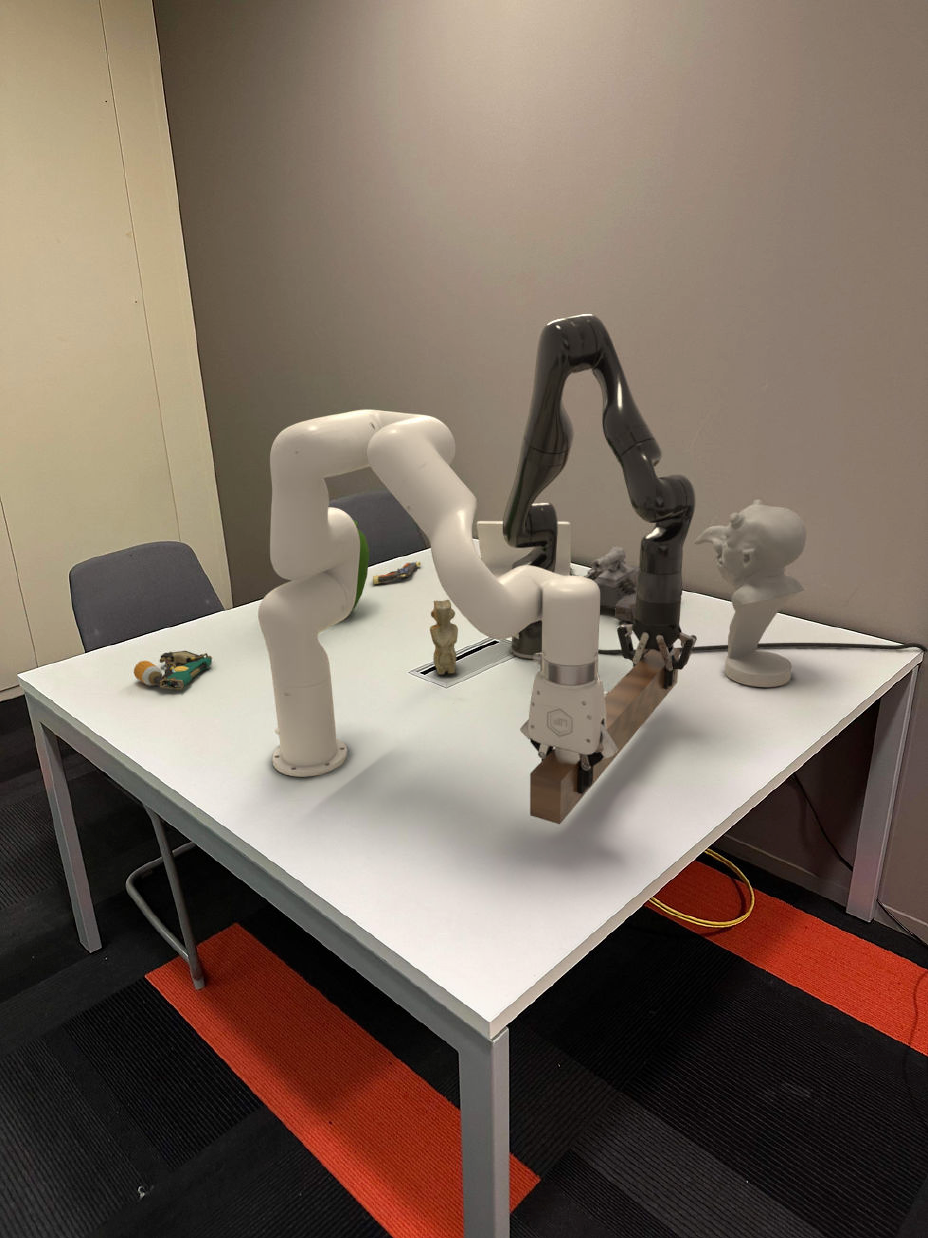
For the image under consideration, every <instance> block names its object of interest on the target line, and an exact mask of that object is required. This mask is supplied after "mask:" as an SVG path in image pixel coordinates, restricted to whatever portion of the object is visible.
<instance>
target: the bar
mask: <svg viewBox="0 0 928 1238" xmlns="http://www.w3.org/2000/svg"><path fill="white" fill-rule="evenodd" d="M674 648H675V656H676V660H679V657H680V652H679V650H680V649H677V648H678V647H674ZM665 670H666V666H665V662H664V659H663V658H662V655H661V652H659V651H656V650H654V649H652V650H650V651H649V652H648V653H646V654H645V655H644V657H643V658H642V659H641V660H640V661H639V662H638V663H637V664H636V665H635V666H634V667H633V666H632V668H631V669H630V670H629V671H628V672H627V673H626V674H624V676H623V677H622V678H621V679H620V680H619V681H618V682H617V683H616V684H615V686H614V687H612V689H611V690H609V691H608V693H607V694H605V705H606V730H607V732H608V733H609V735H610V736H611V738H612V740H613V741H614V743H615V744H616V746H617V748H618V751H617V752H616V753H615V755H613V756H611V757H609V758H606V759H603V760H601V761H600V762H599V763H597V764H596V765H594V766H593V783H592V785H591V787H593V786H594V784H595V783H596V782H597V780H599V778H600V777H601V775H602V774H603V773H604V772H606V770H607V768H608V767H610V765H611V764H612V762H613V761H614V760H615V759H616V757H617V756H618V755H619V754H620V753H621V752H622V750H623V749H624V748H625V747H626V745H627V744H628V743H629V742H630V740H631V739H632V738H634V735H636V733H637V732H638V731H639V730H640V728H641V727H642V726H643V725H644V724H645V722H646V721H647V720H648V719H649V717H651V715H652V714H653V713H654V712H655V710H657V708H658V707H659V705H660V704H661V703H662V702H663V701H664V699H666V697H667V696H668V694H669V693H670V692H671V691H672V690H673V689H674V687H675V686H676V685H677V684H678V679H679V678H678V677H679V669H676V671H675V682H674V684H673V685H672V687H670V688H669V689H668V690H667V689H664V675H665ZM599 749H603V747H602V745H601V743H600V742H599V744H598V748H597V749H596V751H598V750H599ZM580 767H581V761H580V757H579V753H576V752H572V751H568V750H564V749H560V748H556V747H554V749H553V750H552V751H551V752H550V753H549V754H548V755H547V757H546V758H545V759H544V760H543V761H542V762H541V761H540V762H539V763H538V764H537V765H536V767H534V769H533V770H531V771H530V774H529V788H530V789H529V816H530V817H533V818H536V819H541V820H543V821H546V822H550V823H553V824H556V825H561V824H562V823H563V822H564V821H565V819H566V818H567V817H568V816H569V814H570V813H571V812H572V811H573V810H574V809H575V807H576V806H577V805H578V804H579V802H580V801H581V800H582V799H583V797H584V796H585V795H586V793H588V792H589V790H590V789H591V787H590V788H589V787H588V788H587V789H586V790H585V792H584V793H583V794H578V792H577V780H578V769H579V768H580Z"/></svg>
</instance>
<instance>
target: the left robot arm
mask: <svg viewBox="0 0 928 1238" xmlns="http://www.w3.org/2000/svg"><path fill="white" fill-rule="evenodd" d="M455 455H456V441H455V438H454V435H453V434H452V432H451V430H450V428H449V427H448V426H447V425H446V424H445V423H444V422H443V421H441V420H440V419H438V418H437V417H434V416H431V415H426V414H419V413H418V414H417V413H407V412H397V411H387V410H379V409H357V410H352V411H351V410H350V411H347V412H341V413H336V414H330V415H325V416H320V417H315V418H311V419H307V420H304V421H303V420H302V421H300V422H297V423H294V424H291V425H289V426H287V427H286V428H284V429H283V430H281V431H280V432H279V433H278V434H277V436H276V437H275V438H274V440H273V443H272V445H271V449H270V454H269V463H270V464H269V468H270V469H269V470H270V478H271V506H270V533H269V534H270V537H269V557H270V564H271V566H272V569H273V570H274V572H275V574H277V575H278V576H279V577H280V578H282V579H284V580H287V581H288V582H285V583H283V584H281V585H279V586H276V587H274V589H272V590H270V591H269V592H268V593H267V594H266V595H265V596H263V598H262V600H261V601H260V604H259V607H258V612H257V619H258V622H259V626H260V629H261V632H262V635H263V638H264V641H265V645H266V648H267V652H268V658H269V664H270V673H271V680H272V687H273V697H274V703H275V704H274V706H275V712H276V721H277V727H276V728H275V730H274V732H275V734H276V735H277V736H278V739H279V746H278V747H277V748H276V749H275V750H274V751H273V753H272V758H271V759H272V764H273V767H274V768H275V770H276V771H278V772H280V773H281V774H284V775H287V776H291V777H297V778H298V777H299V778H303V777H304V778H305V777H306V778H307V777H315V776H320V775H323V774H327V773H330V772H332V771H334V770H336V769H337V768H339V767H340V766H342V764H343V763H344V762H346V759H347V757H348V751H347V750H348V749H347V746H346V744H345V743H344V742H343V741H341V740H340V739H339V738H337V728H336V717H335V709H334V708H335V707H334V706H335V705H334V696H333V695H334V694H333V684H332V675H331V664H330V660H329V656H328V653H327V651H326V650H325V648H324V647H323V645H322V644H321V643H320V641H319V638H318V637H319V634H320V633H322V632H324V631H325V630H327V629H329V628H330V627H332V626H335V625H336V624H338V623H340V622H342V621H344V619H347V617H348V616H349V615H350V614H351V613H352V612H353V611H352V609H353V607H354V603H355V599H356V591H357V580H358V568H359V556H360V538H359V533H358V530H357V527H356V525H355V523H354V521H353V520H354V519H353V518H352V517H351V516H350V515H349V514H348V513H347V512H345V511H344V510H342V509H340V508H337V507H332V506H331V507H329V506H330V505H329V504H330V495H329V490H328V486H327V483H326V481H325V479H326V478H331V477H336V476H340V475H345V474H348V473H353V472H356V471H359V470H362V469H365V468H369V467H370V468H371V470H372V471H373V473H374V474H375V475H376V477H377V478H378V479H379V480H380V482H381V483H382V484H383V485H384V486H385V487H386V488H387V490H388V491H389V492H390V494H392V496H393V497H394V498H395V499H396V500H397V502H398V503H399V505H401V506H402V508H403V509H404V510H405V512H406V513H407V514H408V515H409V516H410V517H411V519H412V520H413V521H414V523H416V524H417V526H418V527H419V528H420V529H421V531H422V533H424V534H425V535H426V537H427V539H428V540H429V541H428V542H429V544H430V552H431V553H430V554H431V557H432V561H433V565H434V568H435V572H436V575H437V578H438V580H439V583H440V586H441V588H442V589H443V591H444V592H445V594H446V596H447V597H448V599H449V600H450V602H451V603H453V605H454V606H455V607H456V609H457V610H458V611H459V612H460V613H461V615H462V616H463V617H464V618H465V619H466V621H468V623H469V624H470V625H472V626H473V627H474V628H475V629H476V631H478V632H480V634H483V635H485V636H486V637H488V638H490V639H493V640H507V639H510V638H512V636H514V635H516V634H517V633H519V632H520V631H521V630H523V629H524V628H525V627H527V626H528V625H529V624H531V623H533V622H536V621H539V620H541V621H542V653H535V654H534V656H533V659H532V661H533V662H534V663H537V664H539V665H540V666H539V667H540V670H539V671H537V672H536V673H535V677H534V680H533V685H532V690H531V695H530V702H529V711H528V712H529V713H528V719H527V720H526V721H525V722H524V723H523V724H522V726H521V727H520V728H519V730H520V733H522V734H523V735H524V737H526V738H527V739H528V740H529V741H530V744H531V745H532V746H533V747H534V748H535V750H536V751H537V755H538V757H539V759H541V761H540V763H541V762H542V761H543V760H544V759H545V758H546V757H547V755H548V754H549V753H550V752H551V751H552V750H553V749H554V748H555V747H556V748H560V749H564V750H568V751H572V752H576V753H579V757H580V761H581V767H580V768H579V769H578V780H577V792H578V794H583V793H584V792H585V790H586V789H587V788H588V787H589V788H590V787H592V786H593V785H592V783H593V766H594V765H596V764H597V763H599V762H600V761H601V760H603V759H606V758H609V757H611V756H613V755H615V753H616V752H617V751H618V748H617V746H616V744H615V743H614V741H613V740H612V738H611V736H610V735H609V733H608V732H607V730H606V705H605V696H606V694H605V689H604V684H603V681H602V677H601V676H598V670H599V669H598V668H599V653H598V649H599V644H600V613H601V611H600V610H601V606H600V589H599V587H598V585H597V584H596V583H595V582H594V581H593V580H591V579H588V578H585V577H584V576H580V575H570V576H563V575H559V574H556V573H553V572H550V571H548V570H545V569H542V568H539V567H535V566H530V565H524V566H519V567H516V568H514V569H513V570H511V571H509V572H508V573H506V574H504V575H502V576H501V577H499V578H496V577H495V576H494V575H493V574H492V573H491V571H490V570H489V569H488V568H487V567H486V565H485V564H484V562H483V561H482V560H481V555H480V554H479V553H478V551H477V548H476V546H475V542H474V539H473V538H474V537H473V522H474V519H475V515H476V512H477V509H478V508H477V507H478V501H477V498H476V496H475V494H474V493H473V492H472V491H471V490H470V489H469V487H467V485H465V483H464V482H463V481H462V479H460V477H459V476H458V474H457V473H456V472H455V471H454V470H453V468H451V467H450V465H451V464H452V462H453V461H454V458H455ZM351 518H352V519H353V520H352V519H351ZM353 610H354V609H353ZM351 611H352V612H351ZM350 612H351V613H350ZM599 742H600V743H601V745H602V747H603V749H599V750H598V751H596V749H597V748H598V744H599ZM591 785H592V786H591ZM590 789H591V788H590Z"/></svg>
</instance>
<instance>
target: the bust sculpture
mask: <svg viewBox="0 0 928 1238" xmlns="http://www.w3.org/2000/svg"><path fill="white" fill-rule="evenodd" d="M806 529H807V528H806V526H805V524H804V521H803V520H802V519H801V517H800V516H799V515H798V514H797V513H796V512H794V511H793V510H791V509H789V508H786V507H781V506H770V505H766V504H764V502H763V501H762V500H761V499H755V500H753V502H752V504H751V505H748V506H747V507H745V508H743V509H742V510H741V511H739V513H738V512H733V513H732V514H730V516H729V523H728V525H727V526H725V525H713V526H709V527H707V528H706V529H704V530H703V531H702V532H701V534H699V536H698V537H697V538H696V539H695V540H694V542H693V544H694V545H695V546H696V545H697V546H698V545H703V544H707V543H712V544H713V548H714V551H715V552H716V554H717V555H716V556H715V564H716V566H717V569H718V571H719V573H720V575H721V577H722V579H723V580H724V581H726V582H727V583H728V584H729V585H731V587H732V588H734V589H735V591H734V592H733V594H732V596H731V600H730V601H731V604H732V608H733V610H734V613H733V616H732V618H731V622H730V624H729V633H728V635H727V636H728V637H727V645H728V649H727V656H726V658H725V663H724V664H725V665H724V674H725V675H726V677H728V678H729V679H730V680H732V681H734V682H736V683H739V684H741V685H745V686H748V687H749V686H750V687H758V688H774V687H780V686H783V685H785V684H788V683H789V682H790V680H791V677H792V668H793V664H792V662H791V661H790V660H789V659H788V658H786V657H784V656H782V655H780V654H777V653H774V652H769V651H765V650H757V649H758V648H757V646H758V644H759V643H760V641H761V639H763V638H762V637H763V636H764V635H765V632H766V631H767V629H768V627H769V625H770V624H771V622H772V621H773V619H774V618H775V617H776V616H777V614H778V613H779V612H780V610H781V609H782V608H783V607H784V606H785V605H786V604H787V603H788V602H789V601H790V600H791V599H793V597H795V596H797V595H798V594H799V593H801V592H804V591H805V588H804V586H803V585H802V583H801V582H800V581H799V580H798V579H797V578H795V577H793V576H790V575H786V574H785V573H786V569H785V568H786V567H787V566H789V565H791V564H793V563H794V562H795V561H797V560H798V559H800V557H801V555H802V554H803V552H804V550H805V547H806V540H807V530H806Z"/></svg>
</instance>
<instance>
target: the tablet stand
mask: <svg viewBox="0 0 928 1238" xmlns="http://www.w3.org/2000/svg"><path fill="white" fill-rule="evenodd" d="M476 531H477V537H478V544H479V551H480V558H481V560H482V561H483V562H484V564H485V565H486V567H487V568H488V569H489V570H490V571H491V573H492V574H493V575H494V576H495V577H496V578H499V577H501V576H502V575H504V574H506V573H508V572H509V571H511V567H512V564H513V563H514V562H516V561H517V560H519V559H521V558H523V557H525V556H526V555H528V554H529V553H530V552H531V551H532V550H533V549H534V547H529V548H512V547H510V546H508V545H507V544H506V542H505V540H504V537H503V520H477V522H476ZM571 560H572V558H571V522H569V521H558V537H557V551H556V566H555V571H554V573H556V574H559V575H563V576H571V565H572V564H571Z"/></svg>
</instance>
